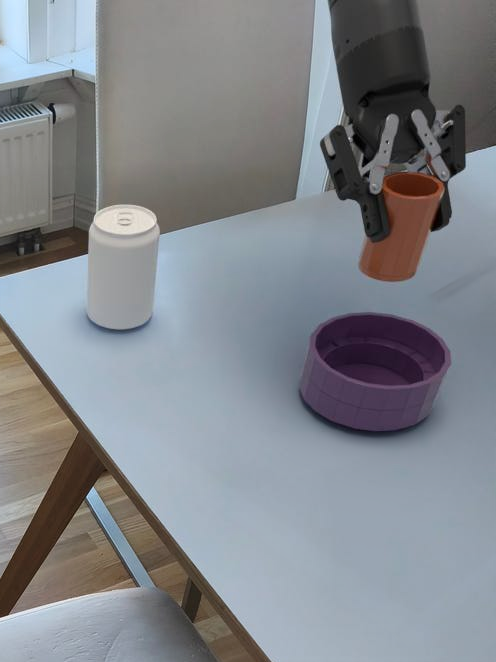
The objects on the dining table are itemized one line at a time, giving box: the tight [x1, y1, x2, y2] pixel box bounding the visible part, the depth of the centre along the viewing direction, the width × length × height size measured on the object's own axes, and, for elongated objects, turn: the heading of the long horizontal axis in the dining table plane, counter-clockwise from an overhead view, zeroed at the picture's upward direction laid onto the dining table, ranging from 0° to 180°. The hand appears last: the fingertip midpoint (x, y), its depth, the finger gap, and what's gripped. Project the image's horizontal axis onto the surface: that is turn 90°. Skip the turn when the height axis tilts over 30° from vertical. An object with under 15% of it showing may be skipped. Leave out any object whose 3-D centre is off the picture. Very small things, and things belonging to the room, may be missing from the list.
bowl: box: [298, 311, 452, 432], centre depth 95 cm, size 14×14×6 cm
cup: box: [357, 170, 445, 283], centre depth 84 cm, size 6×6×8 cm
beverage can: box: [86, 204, 161, 330], centre depth 104 cm, size 8×8×12 cm
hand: (410, 233), depth 83 cm, fingers closed on cup, 5 cm apart
